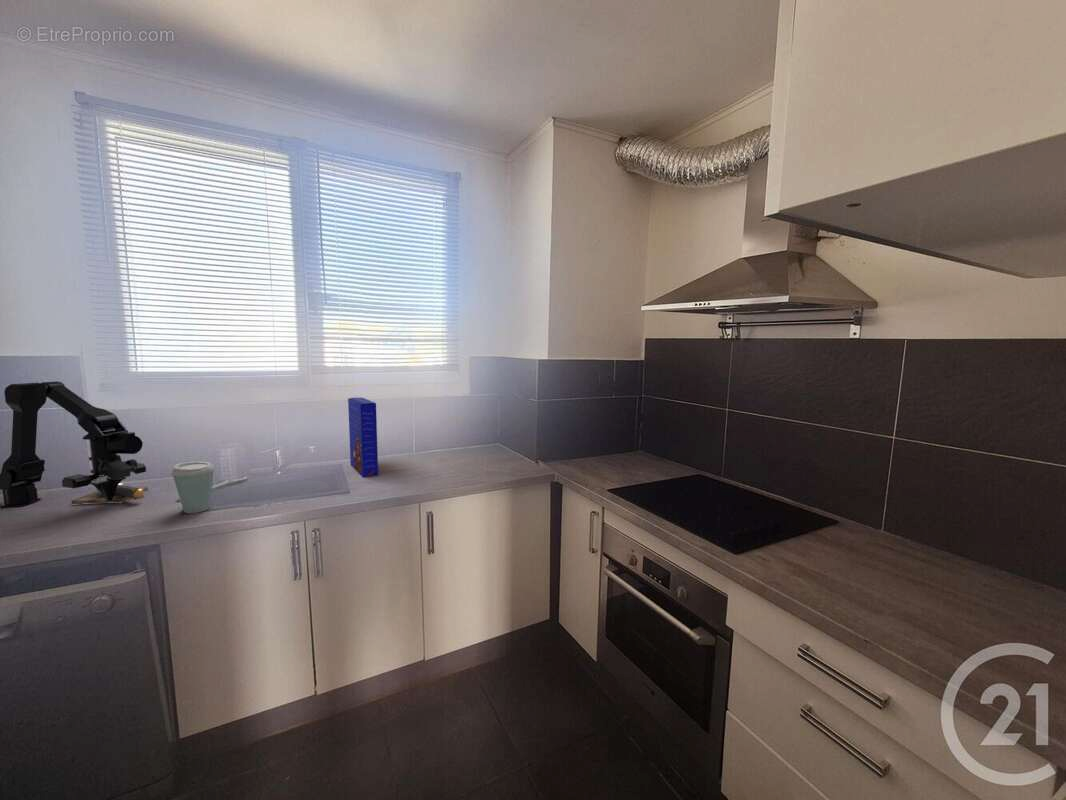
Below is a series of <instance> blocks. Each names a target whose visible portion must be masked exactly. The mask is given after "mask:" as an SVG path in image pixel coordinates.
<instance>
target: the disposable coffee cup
mask: <svg viewBox="0 0 1066 800" xmlns="http://www.w3.org/2000/svg"><path fill="white" fill-rule="evenodd" d="M172 467H173V469H171V476H173V480H174V484H175V487H176V490H177V493H178V497H180V501H179V502H180V504H181V508H182V510H183V511H184V513H185V514H197V513H201V512H204V511H207V510H208V509H209V508H210V506H211V500H212V492H213V491H212V486H213V482H214V481H213V480H214V471H215V470H214V469H215V465H213V464H212V463H211V462H208V461H189V462H188V461H187V462H185V461H184V462H181V463H180V462H179V463H177V464H175V465H173V466H172Z"/></svg>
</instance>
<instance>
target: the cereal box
mask: <svg viewBox="0 0 1066 800" xmlns="http://www.w3.org/2000/svg"><path fill="white" fill-rule="evenodd" d="M347 403H348V404H347V406H348V409H347V411H348V430H349V431H348V433H349V452H350V453H349V457H350V458H349V460H350V466H351V467H352V468H353V470H355V471H356V472H357V473H358V474H359V475H360V477H362V478H363V479H364V478H368V477H369V478H370V477H375V476H379V461H378V460H379V456H378V452H379V451H378V425H377V423H378V422H377V403H376V402H374V401H372V400H369V399H367V398H364V397H349V398H347Z"/></svg>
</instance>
